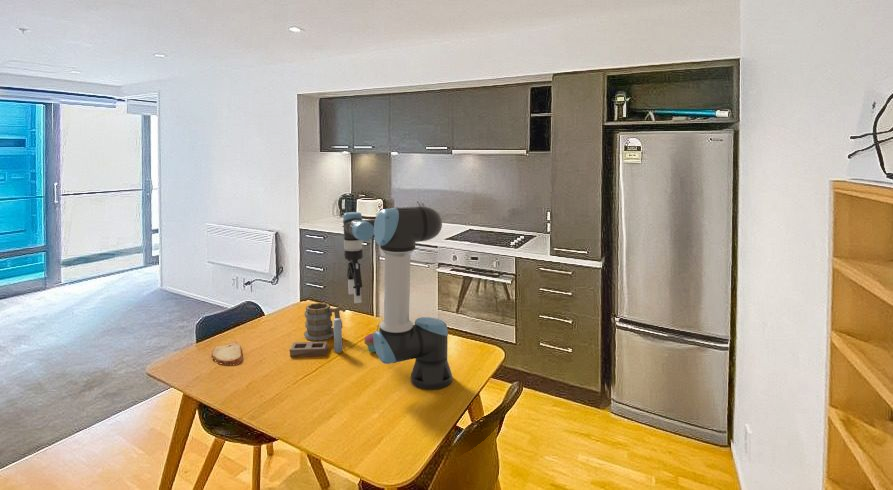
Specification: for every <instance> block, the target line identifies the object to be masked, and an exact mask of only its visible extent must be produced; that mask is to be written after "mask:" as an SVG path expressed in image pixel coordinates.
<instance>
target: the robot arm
mask: <svg viewBox="0 0 893 490" xmlns="http://www.w3.org/2000/svg"><path fill="white" fill-rule="evenodd" d="M342 218H343V219H342V225H343V249H344V252H343V253H344V257H343V258H344V259H345V260H347V273H346V274H347V275H346V277H347V279H348V280H347V282H348V285H347V286H348V288H347V291H348V295H354V304H360V303H362V288H363V280H362V274H361V273H362V272H361V264H360V263H359V260H362V259H363V258H364V255H363V252H364V251H363V244H364V242H365V241H366V242H367V241H369V240H371V239H374V241H375V243H376V244H377V245H378V246H379V249H380V250H381V251H382V252H383V254H384V276H383V277H384V280H383V281H384V283H383V284H384V285H383V286H384V287H383V288H384V289H383V291H384V292H383V293H384V294H383V299H384V300H383V301H384V302H383V303H384V304H383V314H384V315H383V320H382V321H380V322H379V328H378V331H377V330H376V331H374V332H373V333H374V335H373V342H374V347H375V350H376V352H375V353H376V355H377V358H378V359H379V361H380V362H381V363H383V364H384V365H388V364H397V363H399V362H406V361H408V360H409V361H410V360H415V361H414V365H413V366H412V367H413V368H412V371H411V373H410V383H411V384H412V386H414V387H416V388H418V389H421V390H429V391H430V390H431V391H432V390H441V389H444V388H447V387H448V386H450V385H451V384H452V382H453V373H452V370H451V367H450V364H449V360H448V336H449V332H448V325H447V323H446V321H444V320H442V319H439V318H435V317H430V316H425V317H424V316H423V317H417V318H416V319H415V321H414V323H413V322H412V321H411V320H410V300H411V299H410V292H411V291H410V290H411V289H410V287H411V256H412V255H411V254H412V253H413V252H414V251H415V250H416V244H417V243H418V242H427V241H429V240H430V241H431V240H432V239H434V238H436V237H437V236H438V235H439V234H440V232H441V230H442V228H443V220H442V217H441V215H440V213H438V212H437V210H435V209H434V208H431V207H428V206H411V207H410V206H408V207H391V208H384V209H381V210H380V211H379V212H378V213H377V215H376V217H375V219H363V216H362V213H361V212H357V211H349V212H344V214H343V217H342Z"/></svg>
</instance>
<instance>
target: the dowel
mask: <svg viewBox="0 0 893 490" xmlns="http://www.w3.org/2000/svg"><path fill="white" fill-rule="evenodd" d="M340 318H341V317H340ZM340 318H336V319H335V318H334V319H332V324H333V328H334V335H333V344H334V345H333V347H334V353H336V354H339V353H340V354H341V353H342V352H343V339H342V338H343V334H342V333H343V331H342V329H343V327H342V328H341V321H342V318H341V319H340Z"/></svg>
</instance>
